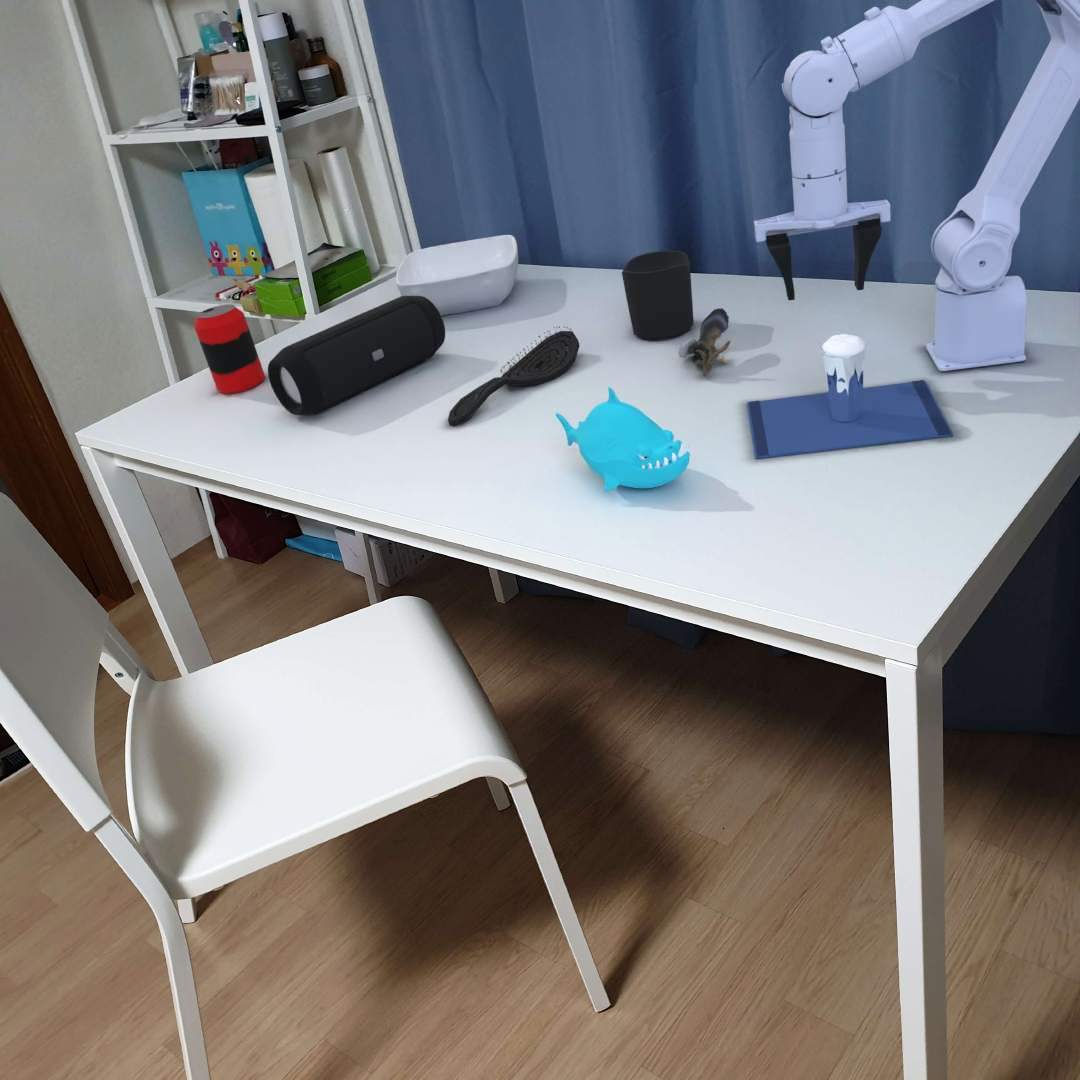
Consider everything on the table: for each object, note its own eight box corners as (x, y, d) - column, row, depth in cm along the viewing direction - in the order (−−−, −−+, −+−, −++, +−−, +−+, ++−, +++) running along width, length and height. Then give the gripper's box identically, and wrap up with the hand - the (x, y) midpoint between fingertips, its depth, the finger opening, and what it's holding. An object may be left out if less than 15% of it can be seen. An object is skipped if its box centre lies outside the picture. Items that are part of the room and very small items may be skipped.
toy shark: (660, 518, 104) (646, 420, 99) (535, 480, 116) (516, 392, 111) (719, 475, 109) (708, 380, 104) (593, 444, 121) (578, 357, 116)
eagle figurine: (750, 362, 130) (743, 325, 137) (714, 325, 127) (709, 289, 134) (701, 397, 134) (697, 359, 141) (666, 362, 131) (663, 325, 138)
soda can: (244, 373, 168) (219, 301, 162) (275, 376, 163) (250, 303, 157) (208, 392, 163) (180, 319, 157) (238, 396, 158) (212, 321, 152)
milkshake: (810, 416, 117) (805, 331, 112) (854, 403, 117) (851, 318, 112) (829, 430, 113) (825, 343, 108) (875, 417, 113) (873, 330, 108)
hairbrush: (424, 402, 135) (544, 322, 149) (431, 427, 137) (550, 346, 151) (469, 411, 130) (590, 327, 144) (476, 436, 132) (595, 351, 146)
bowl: (523, 309, 169) (514, 262, 165) (401, 330, 171) (389, 285, 168) (526, 272, 187) (518, 229, 183) (415, 292, 189) (405, 251, 185)
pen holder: (710, 324, 148) (703, 255, 143) (659, 347, 144) (650, 276, 139) (667, 313, 155) (658, 247, 150) (617, 335, 151) (607, 267, 146)
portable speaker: (314, 427, 142) (292, 359, 137) (277, 415, 149) (255, 349, 144) (455, 357, 155) (440, 293, 150) (416, 349, 162) (399, 286, 157)
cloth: (924, 382, 119) (924, 379, 119) (953, 436, 107) (953, 433, 107) (747, 404, 123) (747, 401, 123) (755, 458, 111) (755, 456, 111)
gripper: (754, 191, 111) (763, 313, 118) (895, 168, 109) (896, 294, 116) (749, 176, 117) (758, 293, 124) (882, 154, 115) (885, 274, 122)
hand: (824, 292), depth 120 cm, fingers open, 7 cm apart
